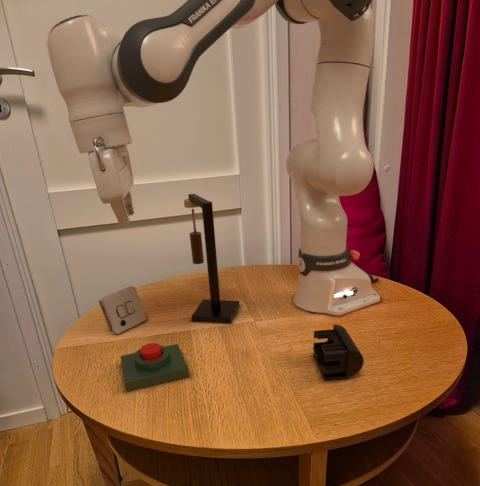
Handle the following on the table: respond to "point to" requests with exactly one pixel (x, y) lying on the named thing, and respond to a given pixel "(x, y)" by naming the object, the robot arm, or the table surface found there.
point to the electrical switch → (122, 309)
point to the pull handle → (196, 244)
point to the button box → (153, 368)
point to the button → (151, 351)
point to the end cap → (337, 354)
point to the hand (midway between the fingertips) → (127, 219)
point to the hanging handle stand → (211, 271)
